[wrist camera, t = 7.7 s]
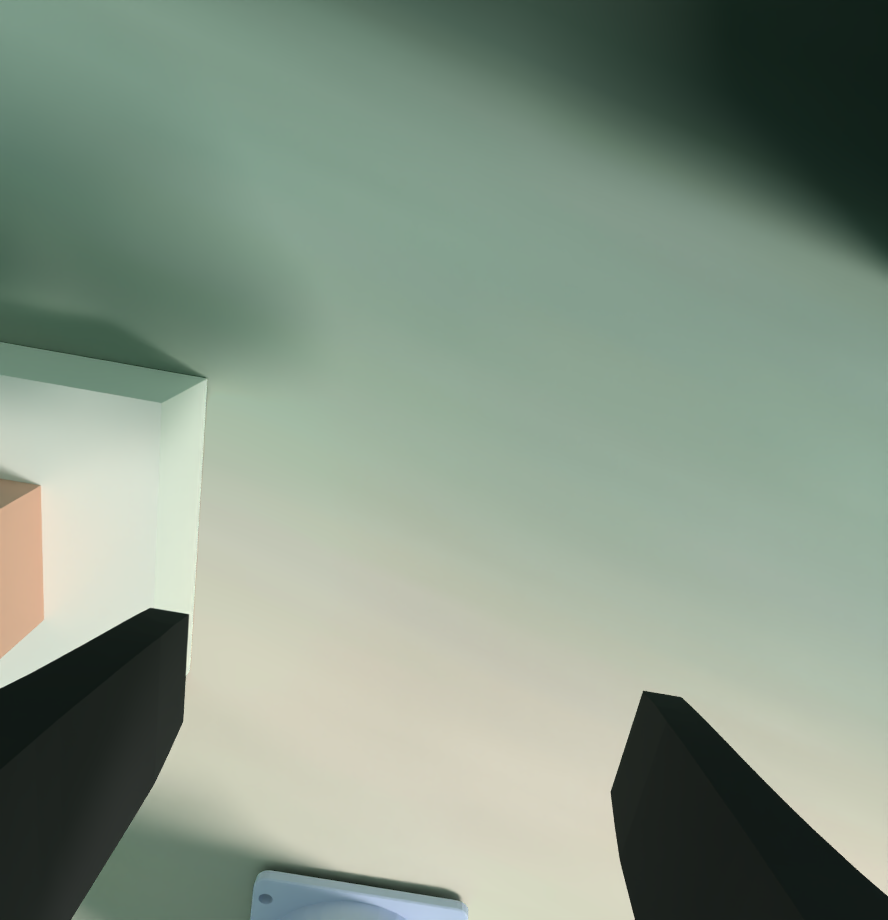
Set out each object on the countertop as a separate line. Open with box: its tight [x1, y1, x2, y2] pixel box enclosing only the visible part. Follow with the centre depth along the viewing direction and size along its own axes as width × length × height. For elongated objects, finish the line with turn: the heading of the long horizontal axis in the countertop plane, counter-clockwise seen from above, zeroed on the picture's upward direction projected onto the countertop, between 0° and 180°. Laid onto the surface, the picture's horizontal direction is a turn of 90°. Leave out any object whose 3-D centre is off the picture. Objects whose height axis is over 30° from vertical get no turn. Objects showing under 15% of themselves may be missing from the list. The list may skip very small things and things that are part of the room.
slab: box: [0, 342, 207, 688], centre depth 19 cm, size 10×10×3 cm
